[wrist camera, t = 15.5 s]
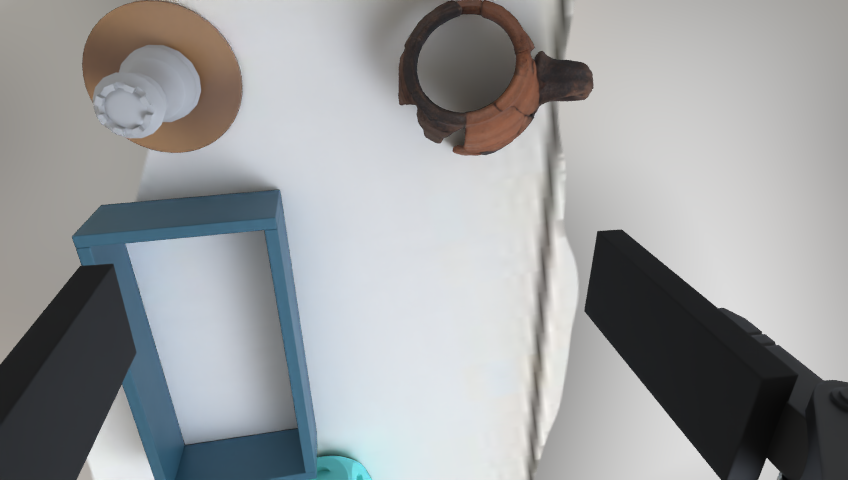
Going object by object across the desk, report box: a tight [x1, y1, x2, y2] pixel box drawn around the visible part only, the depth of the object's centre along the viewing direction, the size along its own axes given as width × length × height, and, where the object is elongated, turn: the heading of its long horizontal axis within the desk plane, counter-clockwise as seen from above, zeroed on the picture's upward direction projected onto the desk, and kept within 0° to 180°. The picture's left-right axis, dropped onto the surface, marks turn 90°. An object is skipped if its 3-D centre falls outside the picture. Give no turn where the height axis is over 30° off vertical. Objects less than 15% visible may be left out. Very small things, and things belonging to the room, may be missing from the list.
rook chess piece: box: [92, 45, 201, 138], centre depth 30 cm, size 4×4×8 cm
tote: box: [72, 190, 317, 480], centre depth 40 cm, size 23×12×5 cm, turn 2°
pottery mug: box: [398, 0, 593, 155], centre depth 35 cm, size 12×10×8 cm
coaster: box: [82, 0, 242, 153], centre depth 34 cm, size 9×9×1 cm
